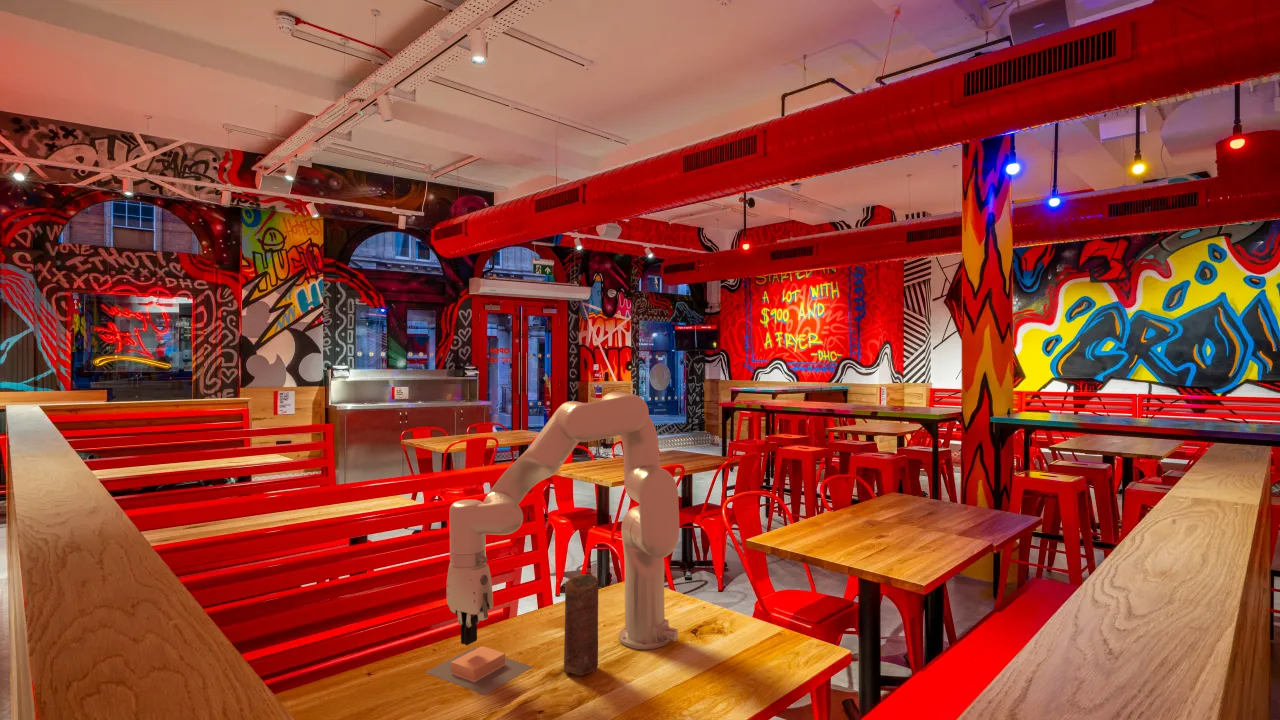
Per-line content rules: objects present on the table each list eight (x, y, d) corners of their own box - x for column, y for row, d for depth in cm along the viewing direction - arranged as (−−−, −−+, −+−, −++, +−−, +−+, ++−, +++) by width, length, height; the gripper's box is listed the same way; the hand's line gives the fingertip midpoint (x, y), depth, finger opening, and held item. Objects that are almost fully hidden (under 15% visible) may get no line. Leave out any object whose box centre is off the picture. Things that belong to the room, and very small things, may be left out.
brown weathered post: (605, 669, 145) (604, 577, 145) (584, 683, 139) (583, 587, 139) (578, 660, 149) (577, 571, 149) (556, 673, 143) (555, 580, 143)
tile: (482, 657, 149) (505, 664, 145) (451, 673, 142) (474, 682, 138) (482, 645, 149) (505, 653, 145) (450, 661, 142) (474, 670, 138)
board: (532, 671, 144) (532, 666, 144) (485, 700, 133) (485, 695, 133) (474, 651, 154) (473, 647, 154) (424, 676, 142) (424, 672, 142)
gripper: (505, 559, 144) (506, 643, 144) (457, 548, 152) (458, 628, 152) (479, 568, 138) (480, 657, 138) (430, 557, 146) (432, 640, 146)
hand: (469, 642), depth 145 cm, fingers closed
